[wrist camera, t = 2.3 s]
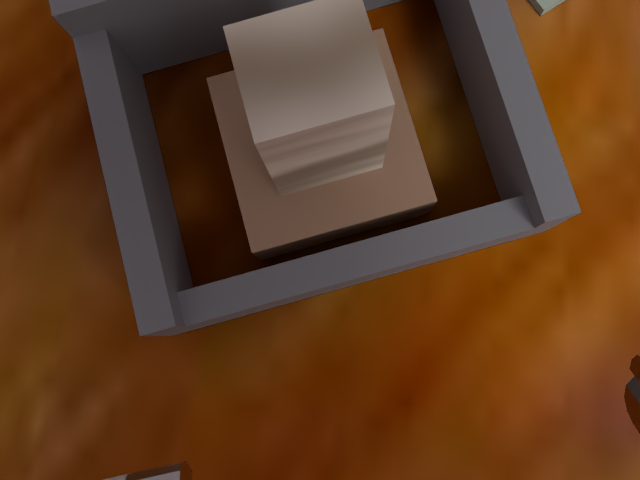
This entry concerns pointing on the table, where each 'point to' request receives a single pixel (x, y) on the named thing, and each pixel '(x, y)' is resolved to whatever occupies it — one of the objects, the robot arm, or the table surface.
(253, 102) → the block
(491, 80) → the nook
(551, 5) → the mat
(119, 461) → the table surface
